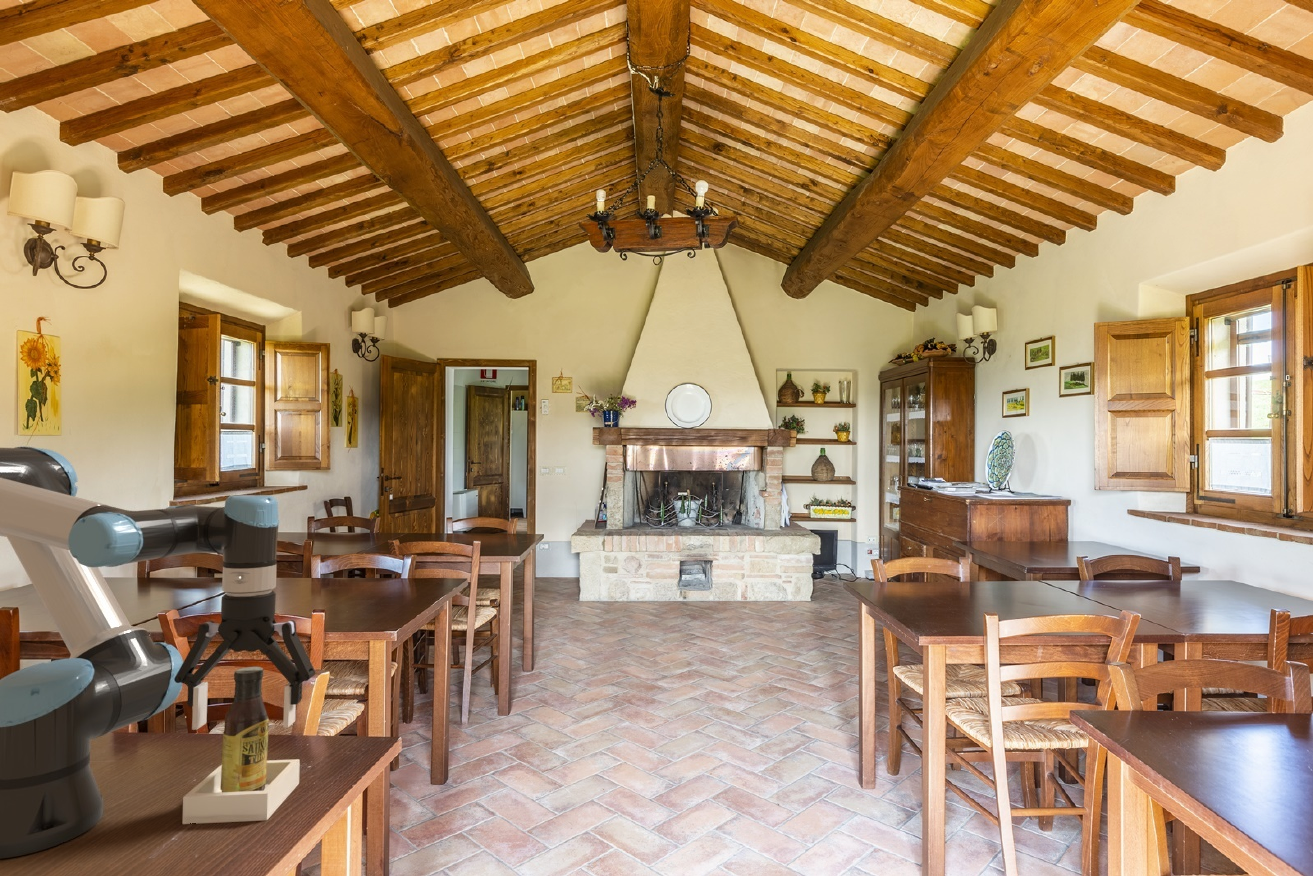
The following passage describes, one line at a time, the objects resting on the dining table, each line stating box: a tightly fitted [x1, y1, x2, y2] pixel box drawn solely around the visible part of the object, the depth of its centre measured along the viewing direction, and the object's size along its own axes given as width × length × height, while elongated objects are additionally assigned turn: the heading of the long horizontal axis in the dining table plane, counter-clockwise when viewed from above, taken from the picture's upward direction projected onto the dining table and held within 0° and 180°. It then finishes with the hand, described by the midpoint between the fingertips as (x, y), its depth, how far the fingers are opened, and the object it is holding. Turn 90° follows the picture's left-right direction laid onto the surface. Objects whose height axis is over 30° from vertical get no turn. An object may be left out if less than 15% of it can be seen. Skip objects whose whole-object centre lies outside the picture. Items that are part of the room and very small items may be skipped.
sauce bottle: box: [220, 666, 270, 792], centre depth 111 cm, size 7×6×20 cm
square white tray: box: [182, 758, 301, 825], centre depth 110 cm, size 12×12×4 cm
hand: (244, 725), depth 111 cm, fingers open, 13 cm apart
